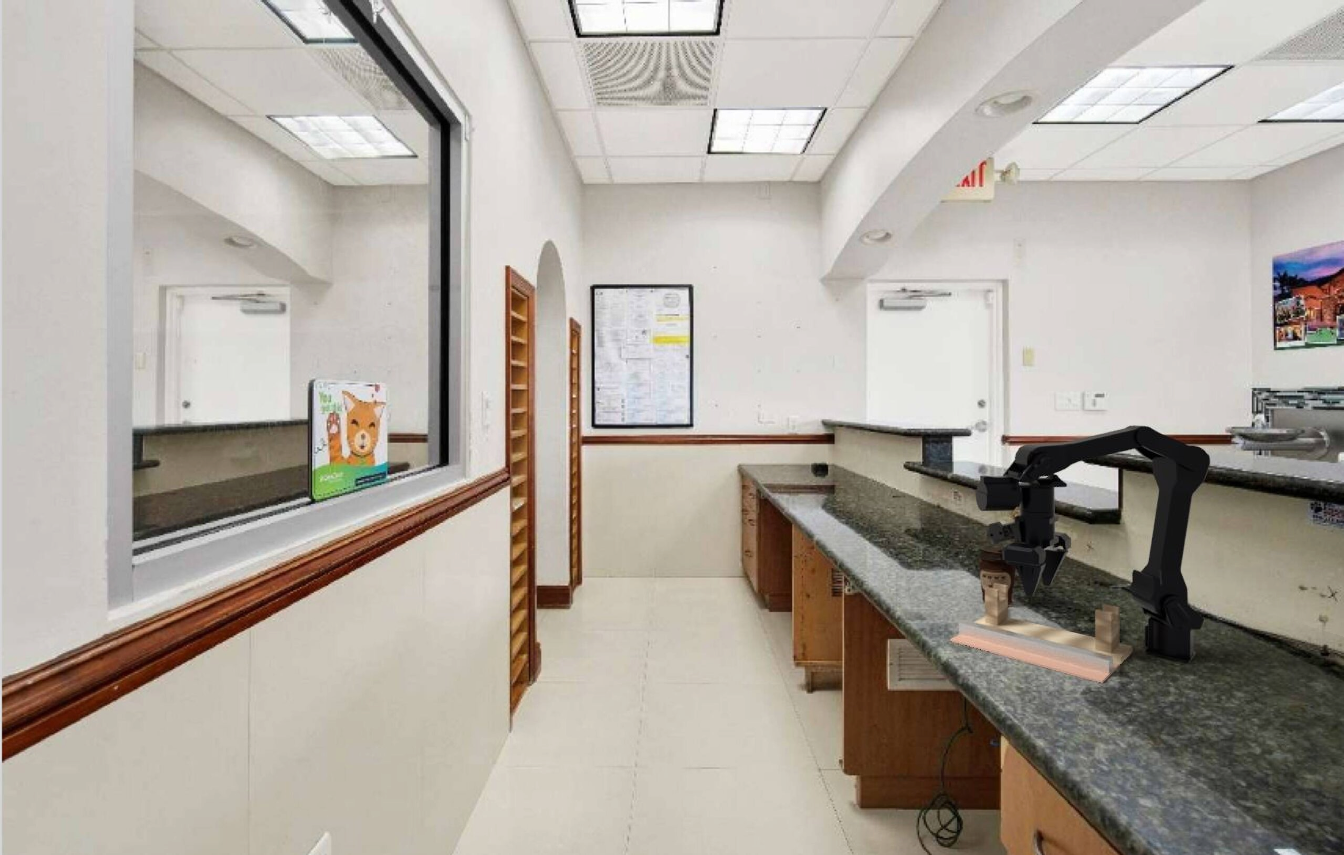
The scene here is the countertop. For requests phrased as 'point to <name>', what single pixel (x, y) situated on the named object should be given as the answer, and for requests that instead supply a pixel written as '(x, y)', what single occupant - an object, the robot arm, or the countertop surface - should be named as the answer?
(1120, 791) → the countertop surface
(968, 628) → the steel rail
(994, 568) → the coffee cup
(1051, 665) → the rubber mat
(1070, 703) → the countertop surface
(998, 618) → the hook stand
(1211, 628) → the countertop surface
